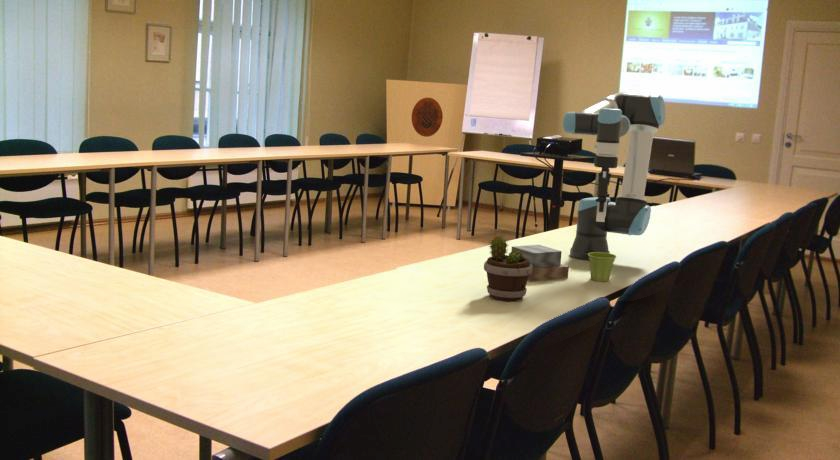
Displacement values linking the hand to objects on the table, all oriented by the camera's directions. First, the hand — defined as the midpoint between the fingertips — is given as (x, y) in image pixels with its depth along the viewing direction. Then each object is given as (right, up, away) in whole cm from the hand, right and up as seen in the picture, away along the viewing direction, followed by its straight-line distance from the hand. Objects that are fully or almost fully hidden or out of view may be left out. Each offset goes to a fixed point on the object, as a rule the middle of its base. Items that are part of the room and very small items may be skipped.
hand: (600, 218), depth 275 cm
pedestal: (-21, -19, +6) cm, 29 cm away
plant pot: (0, -21, +3) cm, 21 cm away
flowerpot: (-35, -24, -27) cm, 50 cm away
